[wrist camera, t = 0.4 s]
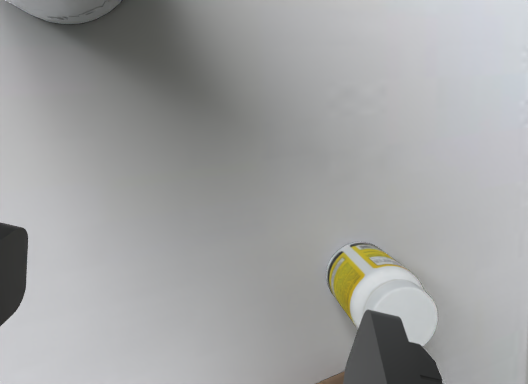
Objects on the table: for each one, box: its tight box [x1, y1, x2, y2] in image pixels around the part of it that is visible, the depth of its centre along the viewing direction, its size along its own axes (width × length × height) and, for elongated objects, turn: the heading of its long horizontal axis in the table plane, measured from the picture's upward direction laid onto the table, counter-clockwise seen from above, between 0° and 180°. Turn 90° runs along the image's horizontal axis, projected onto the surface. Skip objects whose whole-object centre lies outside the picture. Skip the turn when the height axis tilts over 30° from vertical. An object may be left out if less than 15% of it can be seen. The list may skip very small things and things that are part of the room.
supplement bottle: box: [326, 242, 438, 347], centre depth 30 cm, size 5×5×8 cm
